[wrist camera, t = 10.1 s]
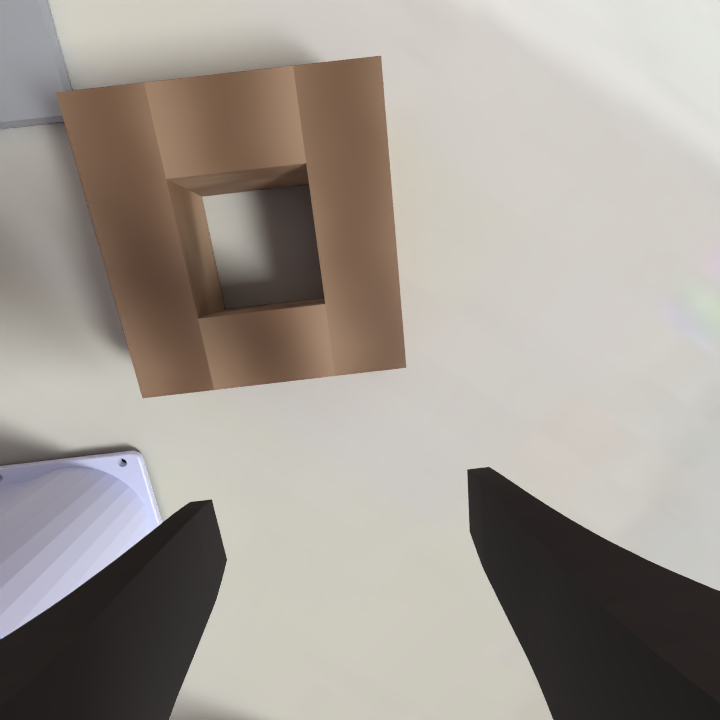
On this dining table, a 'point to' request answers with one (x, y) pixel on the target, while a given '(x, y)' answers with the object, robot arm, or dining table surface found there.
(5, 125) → the pad
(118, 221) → the block
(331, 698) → the dining table surface
